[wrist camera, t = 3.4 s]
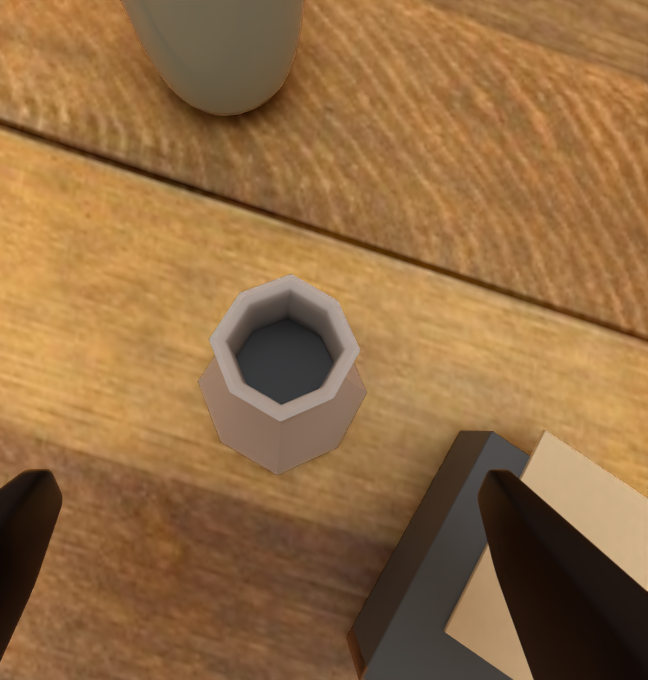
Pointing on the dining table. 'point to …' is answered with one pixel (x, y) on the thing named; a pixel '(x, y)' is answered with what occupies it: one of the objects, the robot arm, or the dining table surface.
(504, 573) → the robot arm
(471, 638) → the grey and beige box
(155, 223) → the dining table surface
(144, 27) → the cup
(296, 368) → the octagonal bud vase
